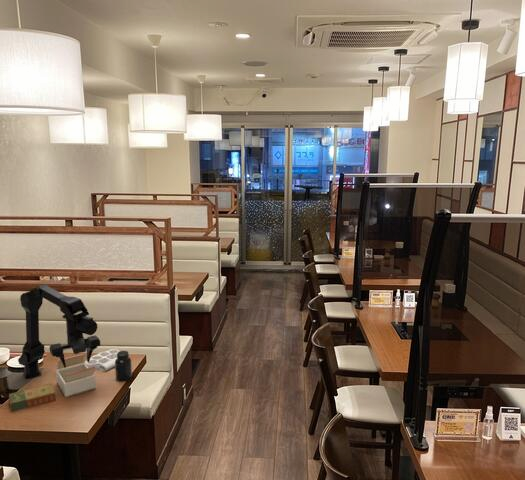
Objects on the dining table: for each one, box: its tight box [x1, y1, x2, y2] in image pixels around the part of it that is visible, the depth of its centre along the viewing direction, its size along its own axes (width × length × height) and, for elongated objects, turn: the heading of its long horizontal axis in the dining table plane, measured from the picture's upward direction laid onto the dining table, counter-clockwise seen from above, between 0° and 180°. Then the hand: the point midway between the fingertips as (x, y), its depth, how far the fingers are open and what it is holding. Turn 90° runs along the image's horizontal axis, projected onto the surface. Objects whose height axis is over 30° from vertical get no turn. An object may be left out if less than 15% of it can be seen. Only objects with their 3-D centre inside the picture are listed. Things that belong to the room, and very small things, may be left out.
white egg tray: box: [84, 348, 120, 372], centre depth 222 cm, size 3×18×15 cm
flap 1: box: [56, 353, 86, 370], centre depth 203 cm, size 5×11×1 cm
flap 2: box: [66, 367, 95, 382], centre depth 193 cm, size 5×11×1 cm
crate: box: [55, 362, 96, 398], centre depth 200 cm, size 14×12×6 cm
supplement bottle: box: [114, 350, 133, 382], centre depth 207 cm, size 7×7×12 cm
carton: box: [8, 383, 56, 413], centre depth 189 cm, size 8×16×4 cm, turn 121°
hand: (76, 364), depth 195 cm, fingers open, 9 cm apart
